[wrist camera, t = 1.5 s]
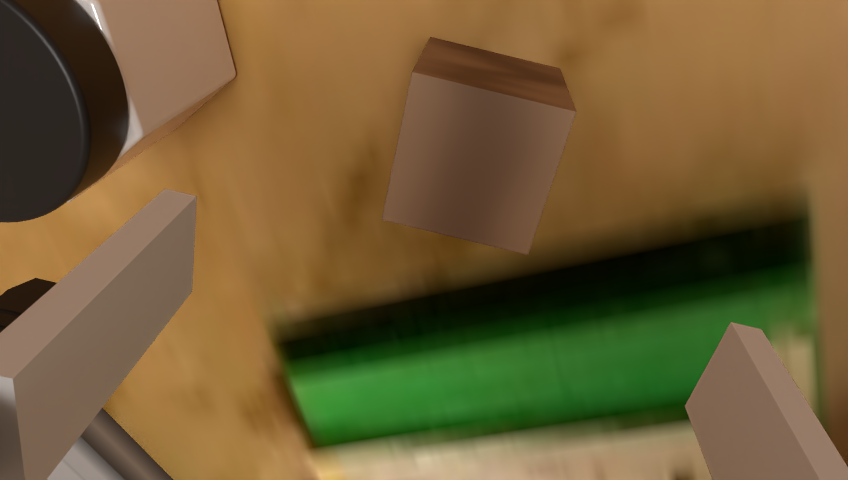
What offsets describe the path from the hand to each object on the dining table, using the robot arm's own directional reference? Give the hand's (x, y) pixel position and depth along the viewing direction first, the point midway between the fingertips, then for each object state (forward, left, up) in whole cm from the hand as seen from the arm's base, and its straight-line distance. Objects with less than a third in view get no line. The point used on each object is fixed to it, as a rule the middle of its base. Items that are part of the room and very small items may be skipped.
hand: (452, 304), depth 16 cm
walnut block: (0, 0, -17) cm, 17 cm away
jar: (+16, 0, -17) cm, 23 cm away
